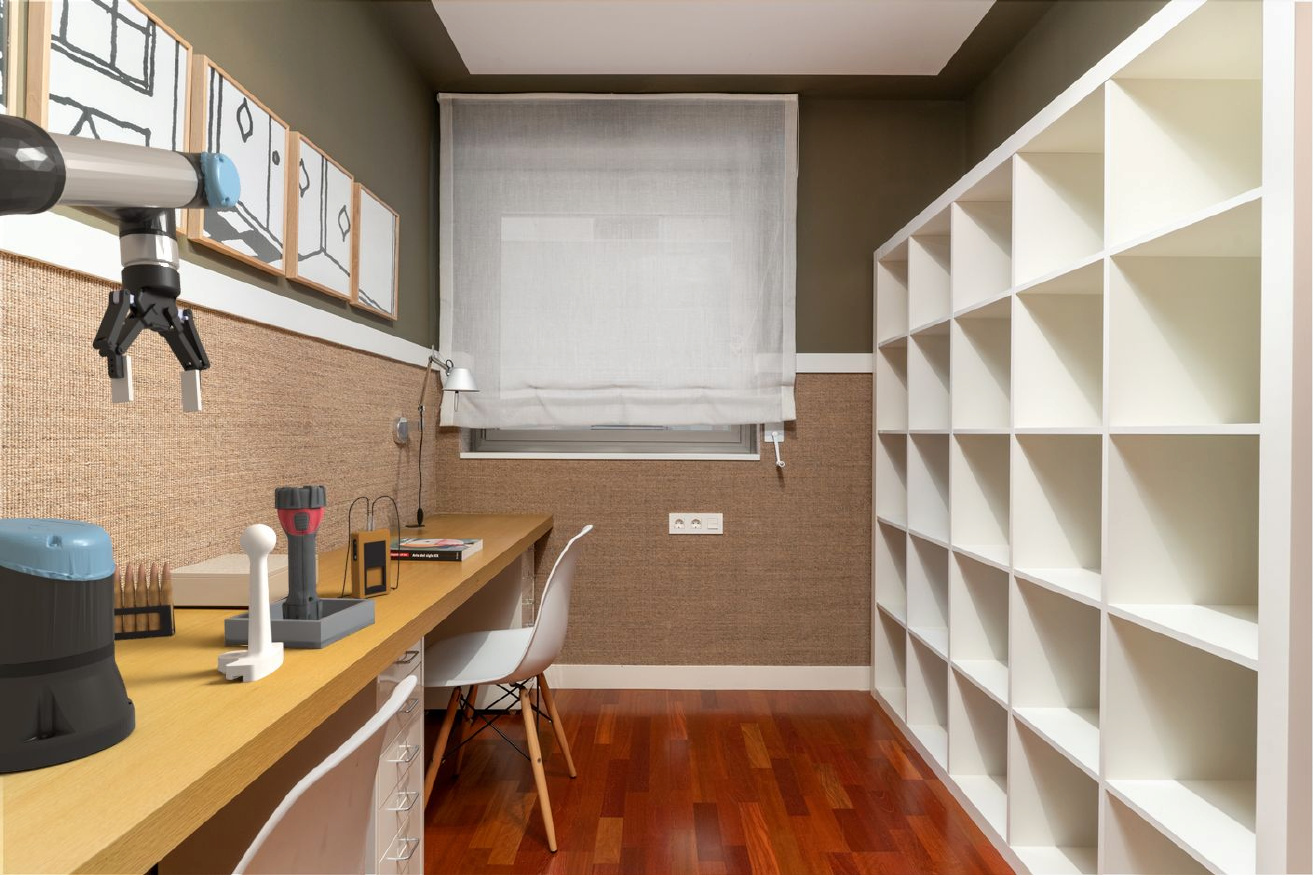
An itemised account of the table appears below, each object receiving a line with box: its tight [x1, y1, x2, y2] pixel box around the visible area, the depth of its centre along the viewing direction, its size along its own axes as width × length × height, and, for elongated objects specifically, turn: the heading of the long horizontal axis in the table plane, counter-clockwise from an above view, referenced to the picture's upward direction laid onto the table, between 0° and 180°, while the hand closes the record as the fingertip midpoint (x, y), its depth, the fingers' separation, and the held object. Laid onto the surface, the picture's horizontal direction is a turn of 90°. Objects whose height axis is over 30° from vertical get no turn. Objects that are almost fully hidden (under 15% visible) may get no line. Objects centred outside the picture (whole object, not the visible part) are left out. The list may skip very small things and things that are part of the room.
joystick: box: [217, 523, 284, 683], centre depth 107 cm, size 11×8×20 cm
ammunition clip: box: [114, 561, 177, 642], centre depth 126 cm, size 11×2×12 cm, turn 107°
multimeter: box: [337, 495, 401, 599], centre depth 157 cm, size 15×10×20 cm
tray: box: [223, 597, 376, 650], centre depth 127 cm, size 16×16×4 cm
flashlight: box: [274, 484, 327, 620], centre depth 126 cm, size 8×8×23 cm
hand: (159, 407), depth 118 cm, fingers open, 13 cm apart
